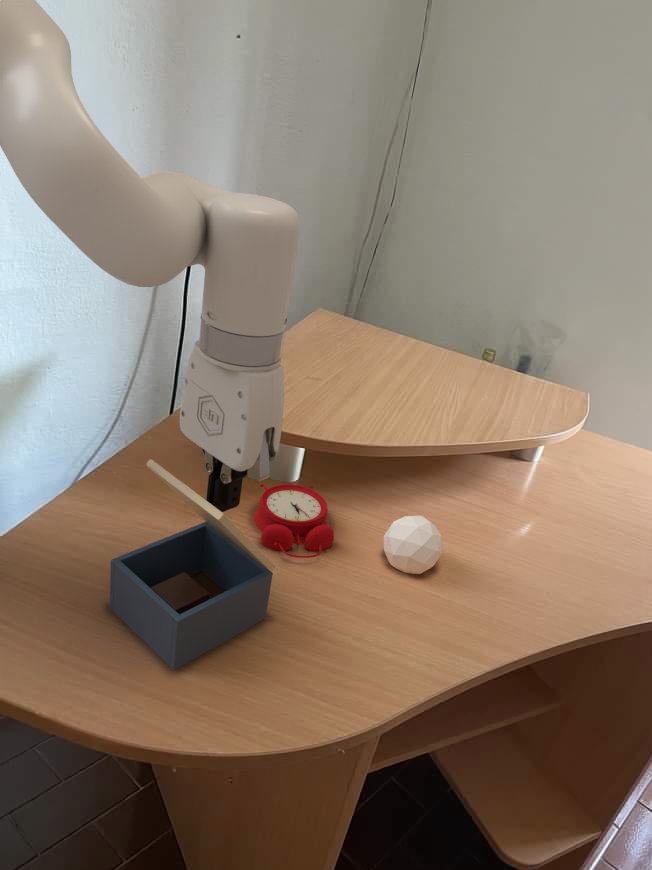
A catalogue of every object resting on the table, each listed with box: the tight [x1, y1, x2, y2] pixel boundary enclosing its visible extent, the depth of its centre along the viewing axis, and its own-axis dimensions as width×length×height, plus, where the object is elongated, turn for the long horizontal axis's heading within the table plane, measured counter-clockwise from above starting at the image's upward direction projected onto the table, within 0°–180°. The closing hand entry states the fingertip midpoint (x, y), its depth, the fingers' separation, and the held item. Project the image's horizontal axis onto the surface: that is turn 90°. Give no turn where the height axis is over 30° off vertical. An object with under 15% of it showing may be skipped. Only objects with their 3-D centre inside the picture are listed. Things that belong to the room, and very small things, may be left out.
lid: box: [145, 458, 276, 573], centre depth 72 cm, size 13×11×1 cm
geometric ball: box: [383, 515, 443, 575], centre depth 92 cm, size 8×8×8 cm
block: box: [151, 572, 210, 615], centre depth 75 cm, size 4×4×4 cm
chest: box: [109, 521, 274, 671], centre depth 75 cm, size 12×11×8 cm
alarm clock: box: [253, 483, 335, 559], centre depth 94 cm, size 10×6×15 cm
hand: (222, 506), depth 72 cm, fingers closed
